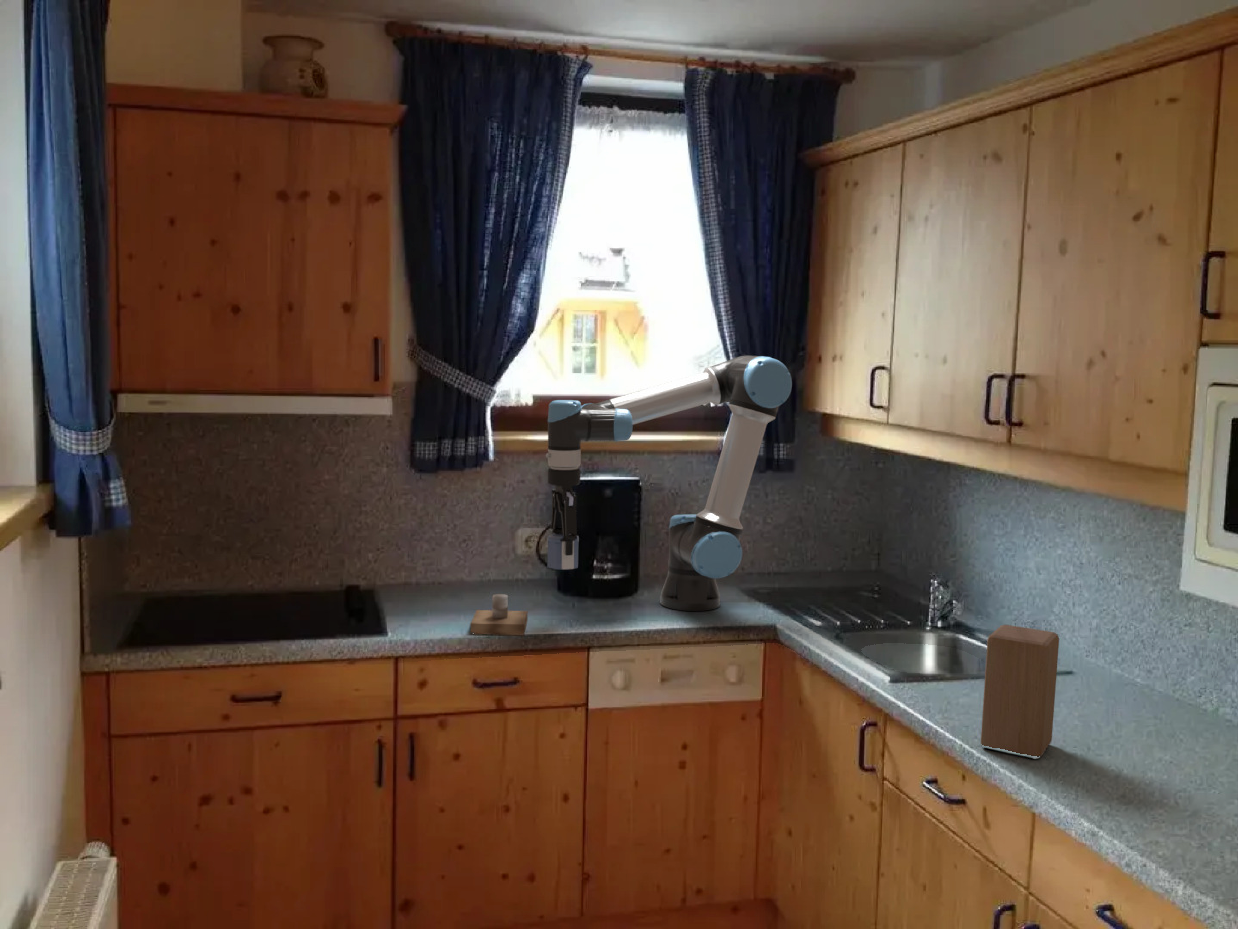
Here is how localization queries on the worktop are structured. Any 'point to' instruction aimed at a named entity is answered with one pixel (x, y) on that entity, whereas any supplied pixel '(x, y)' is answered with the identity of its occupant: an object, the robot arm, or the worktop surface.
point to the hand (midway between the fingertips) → (563, 564)
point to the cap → (559, 552)
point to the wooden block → (1019, 689)
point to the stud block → (499, 619)
